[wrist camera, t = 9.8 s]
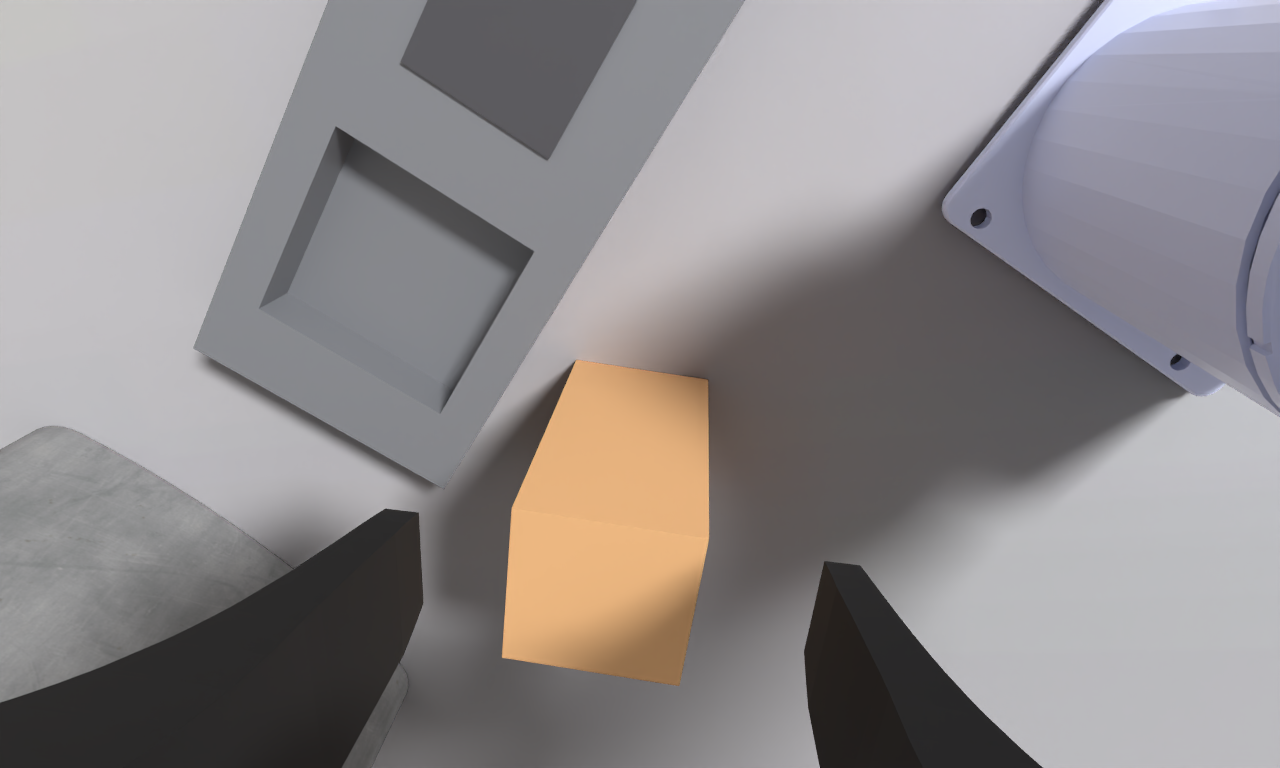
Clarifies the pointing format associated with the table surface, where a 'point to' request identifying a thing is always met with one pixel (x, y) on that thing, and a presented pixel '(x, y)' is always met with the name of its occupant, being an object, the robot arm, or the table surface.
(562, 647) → the plug
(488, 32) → the power strip
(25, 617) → the hip flask
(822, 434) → the table surface
